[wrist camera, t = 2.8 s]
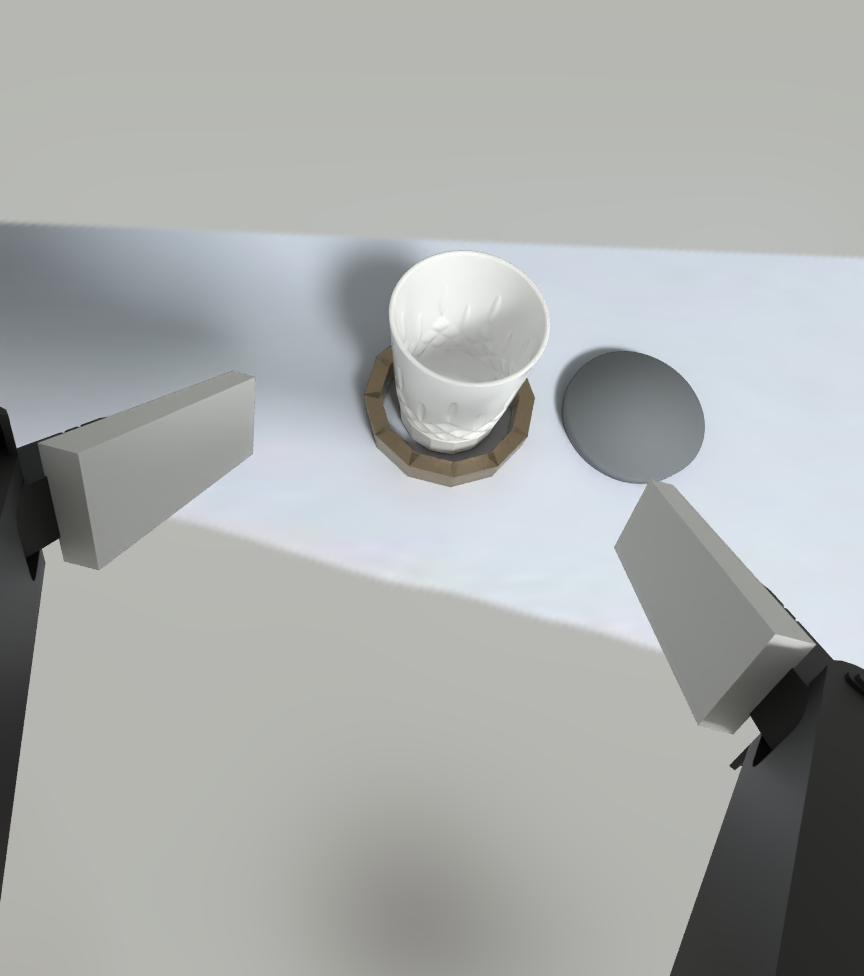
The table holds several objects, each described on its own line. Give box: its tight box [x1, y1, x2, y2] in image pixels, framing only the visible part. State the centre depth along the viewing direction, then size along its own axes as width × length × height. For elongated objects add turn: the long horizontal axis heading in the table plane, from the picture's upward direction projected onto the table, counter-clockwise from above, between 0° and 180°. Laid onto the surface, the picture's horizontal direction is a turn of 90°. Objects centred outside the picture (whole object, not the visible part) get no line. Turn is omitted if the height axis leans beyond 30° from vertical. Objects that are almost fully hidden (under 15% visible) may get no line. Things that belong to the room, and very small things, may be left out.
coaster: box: [562, 351, 705, 484], centre depth 30 cm, size 10×10×1 cm
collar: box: [364, 345, 535, 487], centre depth 29 cm, size 11×11×2 cm
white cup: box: [389, 250, 550, 454], centre depth 25 cm, size 8×8×10 cm
